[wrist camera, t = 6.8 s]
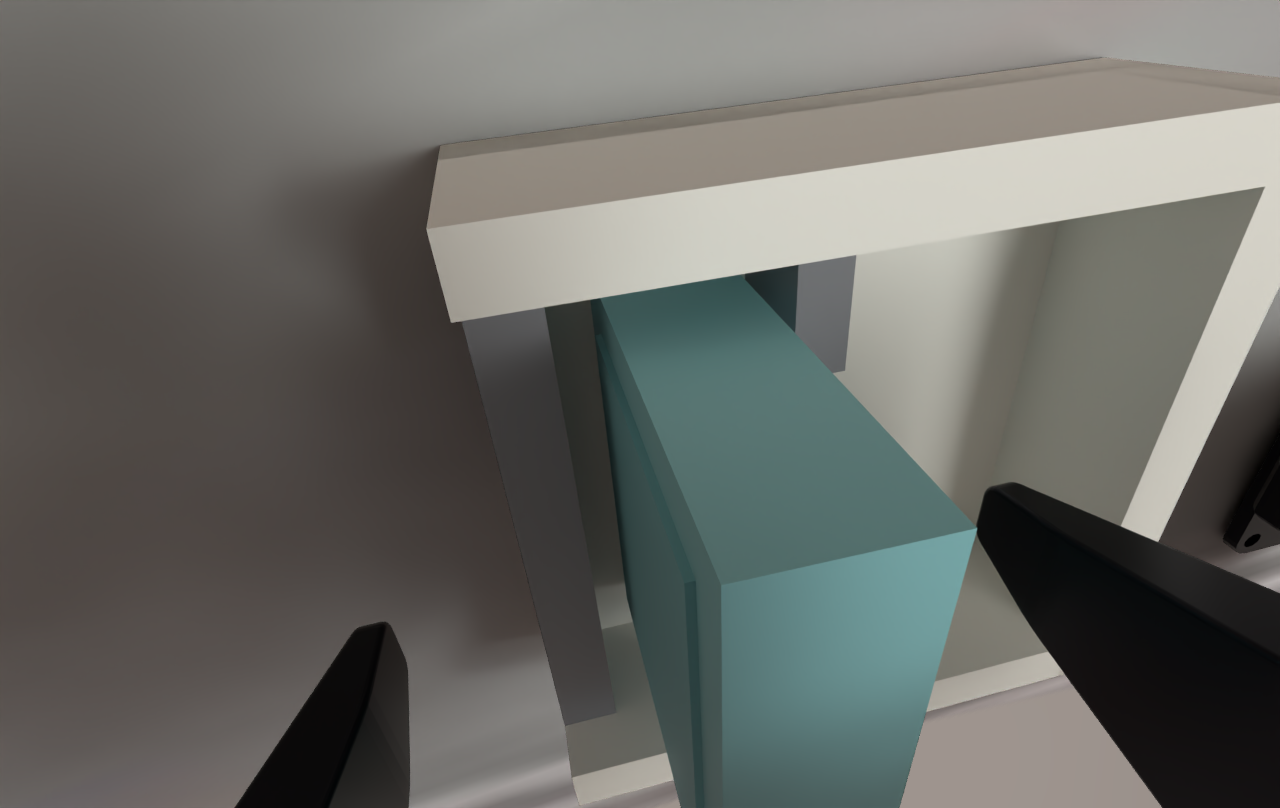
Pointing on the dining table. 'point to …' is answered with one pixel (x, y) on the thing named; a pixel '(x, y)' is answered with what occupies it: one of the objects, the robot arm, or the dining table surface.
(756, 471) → the door
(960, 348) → the carcass
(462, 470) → the dining table surface
